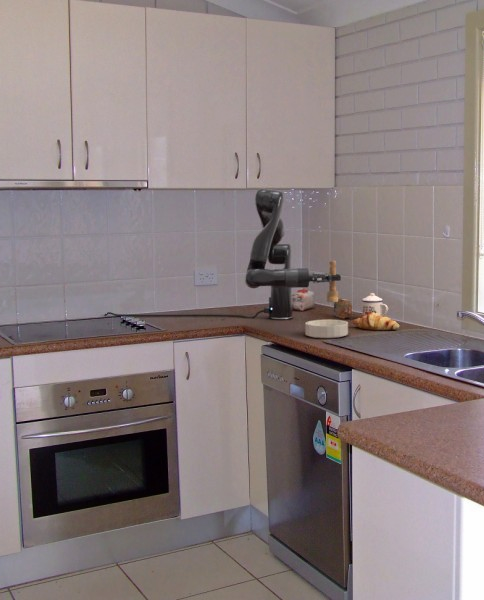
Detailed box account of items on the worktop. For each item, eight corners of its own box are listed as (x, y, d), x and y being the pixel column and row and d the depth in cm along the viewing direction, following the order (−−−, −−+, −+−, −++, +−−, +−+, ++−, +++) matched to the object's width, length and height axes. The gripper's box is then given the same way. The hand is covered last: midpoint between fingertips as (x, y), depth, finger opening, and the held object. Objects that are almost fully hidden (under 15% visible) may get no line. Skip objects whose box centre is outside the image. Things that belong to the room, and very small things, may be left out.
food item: (303, 311, 394) (303, 290, 392) (288, 310, 397) (288, 290, 395) (316, 308, 406) (316, 287, 405) (301, 307, 409) (301, 287, 408)
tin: (333, 315, 381) (333, 297, 380) (339, 315, 382) (339, 296, 381) (346, 320, 367) (346, 301, 366) (353, 319, 369) (353, 300, 368)
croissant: (401, 337, 341) (405, 319, 344) (393, 329, 333) (397, 310, 335) (354, 333, 350) (359, 315, 353) (345, 325, 342) (349, 306, 344)
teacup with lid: (358, 320, 366) (358, 293, 365) (367, 317, 374) (367, 291, 373) (383, 322, 361) (383, 295, 359) (392, 319, 369) (392, 293, 367)
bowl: (297, 337, 323) (297, 324, 322) (317, 331, 338) (316, 318, 337) (337, 340, 316) (337, 327, 316) (354, 333, 332) (354, 321, 331)
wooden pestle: (325, 301, 332) (325, 261, 330) (329, 300, 336) (329, 260, 334) (335, 302, 330) (335, 261, 328) (339, 301, 334) (339, 260, 332)
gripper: (298, 269, 322) (342, 269, 325) (294, 267, 336) (337, 266, 339) (298, 289, 323) (342, 288, 326) (294, 285, 337) (337, 285, 340)
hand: (339, 277), depth 332 cm, fingers closed on wooden pestle, 2 cm apart
